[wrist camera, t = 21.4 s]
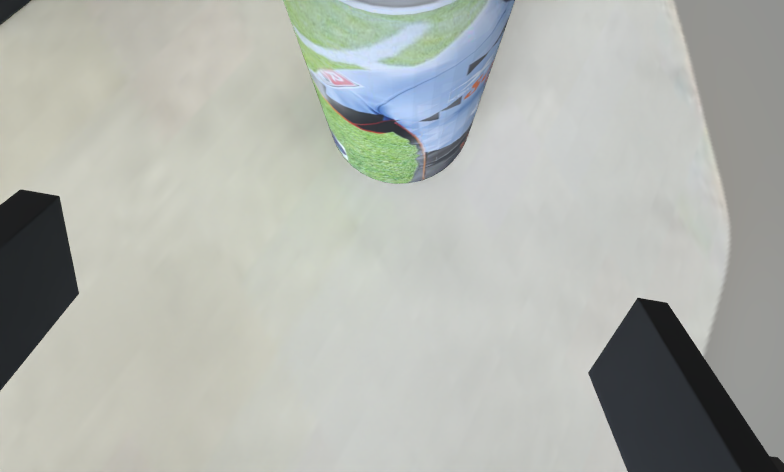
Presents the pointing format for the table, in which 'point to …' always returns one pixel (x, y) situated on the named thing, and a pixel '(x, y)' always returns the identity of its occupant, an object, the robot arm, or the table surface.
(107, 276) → the table surface
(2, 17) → the bracket
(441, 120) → the beverage can
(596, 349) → the table surface
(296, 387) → the table surface
